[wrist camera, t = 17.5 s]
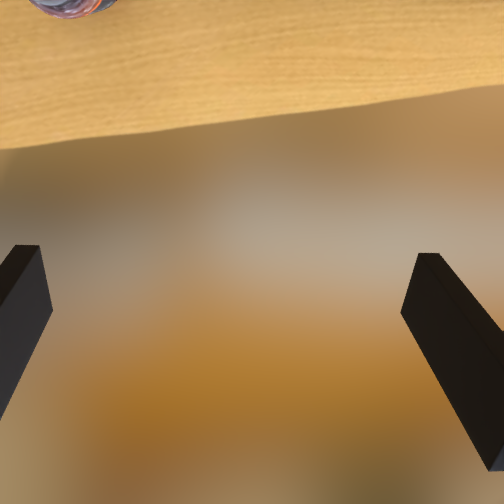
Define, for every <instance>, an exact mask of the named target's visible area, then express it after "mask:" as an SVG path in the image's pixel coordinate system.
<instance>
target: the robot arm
mask: <svg viewBox="0 0 504 504" xmlns="http://www.w3.org/2000/svg"><path fill="white" fill-rule="evenodd" d="M52 312H53V309H52V304H51V299H50V294H49V289H48V285H47V280H46V275H45V270H44V265H43V260H42V256H41V251H40V247H39V245H15V246H14V247H13V249H12V250H11V251H10V253H9V254H8V255H7V257H6V258H5V260H4V261H3V262H2V264H1V265H0V420H1V418H2V416H3V413H4V411H5V409H6V407H7V405H8V403H9V401H10V399H11V397H12V395H13V393H14V390H15V388H16V386H17V384H18V382H19V380H20V378H21V376H22V374H23V372H24V370H25V368H26V365H27V363H28V361H29V359H30V357H31V355H32V353H33V351H34V349H35V347H36V345H37V343H38V341H39V338H40V336H41V334H42V332H43V330H44V328H45V326H46V324H47V322H48V320H49V318H50V316H51V313H52ZM401 315H402V316H403V318H404V320H405V321H406V324H407V325H408V327H409V329H410V331H411V333H412V335H413V336H414V338H415V340H416V342H417V344H418V345H419V347H420V349H421V351H422V353H423V354H424V356H425V358H426V360H427V362H428V363H429V365H430V367H431V369H432V371H433V372H434V374H435V376H436V378H437V380H438V381H439V383H440V385H441V387H442V389H443V390H444V392H445V394H446V396H447V398H448V399H449V401H450V403H451V405H452V407H453V408H454V410H455V412H456V414H457V416H458V417H459V419H460V421H461V423H462V425H463V426H464V428H465V430H466V432H467V434H468V436H469V437H470V439H471V441H472V443H473V444H474V446H475V448H476V450H477V452H478V454H479V455H480V457H481V459H482V461H483V463H484V464H485V466H486V468H487V470H488V471H504V331H502V330H501V329H500V328H499V327H498V325H497V324H496V323H495V322H494V320H493V319H492V318H491V317H490V315H489V314H488V313H487V312H486V311H485V309H484V308H483V307H482V306H481V304H480V303H479V302H478V301H477V300H476V298H475V297H474V296H473V295H472V293H471V292H470V291H469V290H468V288H467V287H466V286H465V285H464V284H463V282H462V281H461V280H460V279H459V277H458V276H457V275H456V274H455V273H454V271H453V270H452V269H451V268H450V266H449V265H448V264H447V263H446V261H445V260H444V259H443V258H442V256H440V254H439V253H419V254H418V257H417V260H416V263H415V266H414V270H413V273H412V276H411V280H410V283H409V286H408V289H407V293H406V296H405V299H404V303H403V306H402V309H401Z"/></svg>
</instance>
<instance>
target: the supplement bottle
mask: <svg viewBox="0 0 504 504" xmlns="http://www.w3.org/2000/svg"><path fill="white" fill-rule="evenodd" d="M29 1H30V2H31V3H32V4H34V5H35V6H36V7H37V8H38V9H40V10H41V11H43V12H45V13H47V14H49V15H51V16H54V17H57V18H63V19H74V18H79V17H83V16H86V15H89V14H92V13H95V12H98V11H101V10H104V9H106V8H108V7H110V6H111V5H112V4H113V3H115V2H116V1H117V0H29Z"/></svg>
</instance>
